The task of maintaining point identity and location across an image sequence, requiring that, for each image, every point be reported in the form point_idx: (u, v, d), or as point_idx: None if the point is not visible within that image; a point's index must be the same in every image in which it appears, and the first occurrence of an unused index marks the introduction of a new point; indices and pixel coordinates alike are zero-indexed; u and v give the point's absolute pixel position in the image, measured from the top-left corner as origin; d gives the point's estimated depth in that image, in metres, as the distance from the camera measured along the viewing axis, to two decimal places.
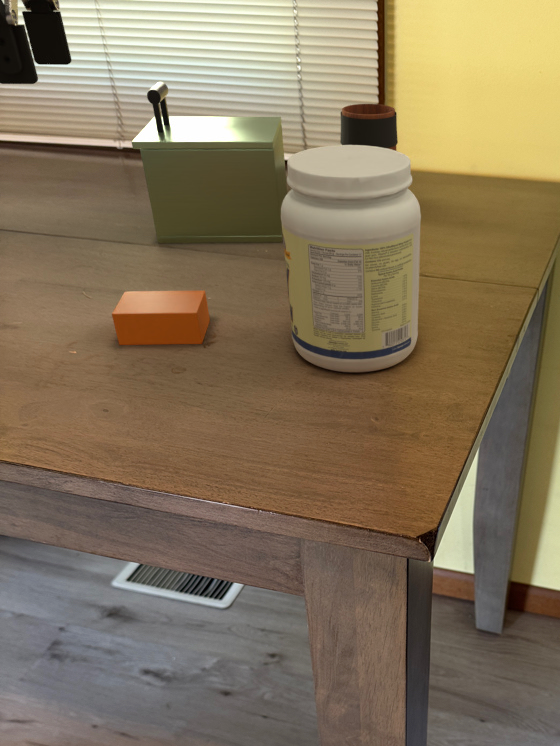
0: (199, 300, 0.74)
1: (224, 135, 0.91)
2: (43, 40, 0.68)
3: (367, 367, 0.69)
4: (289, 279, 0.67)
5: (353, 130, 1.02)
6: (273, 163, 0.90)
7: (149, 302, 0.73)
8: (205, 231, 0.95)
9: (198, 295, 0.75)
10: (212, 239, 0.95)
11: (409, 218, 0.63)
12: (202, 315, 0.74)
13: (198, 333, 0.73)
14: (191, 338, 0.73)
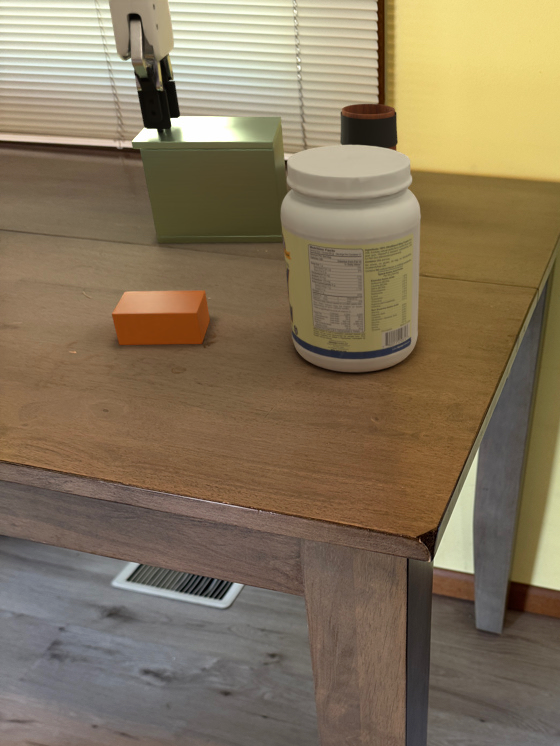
0: (199, 300, 0.74)
1: (224, 135, 0.91)
2: None
3: (367, 367, 0.69)
4: (289, 279, 0.67)
5: (353, 130, 1.02)
6: (273, 163, 0.90)
7: (149, 302, 0.73)
8: (205, 231, 0.95)
9: (198, 295, 0.75)
10: (212, 239, 0.95)
11: (409, 218, 0.63)
12: (202, 315, 0.74)
13: (198, 333, 0.73)
14: (191, 338, 0.73)
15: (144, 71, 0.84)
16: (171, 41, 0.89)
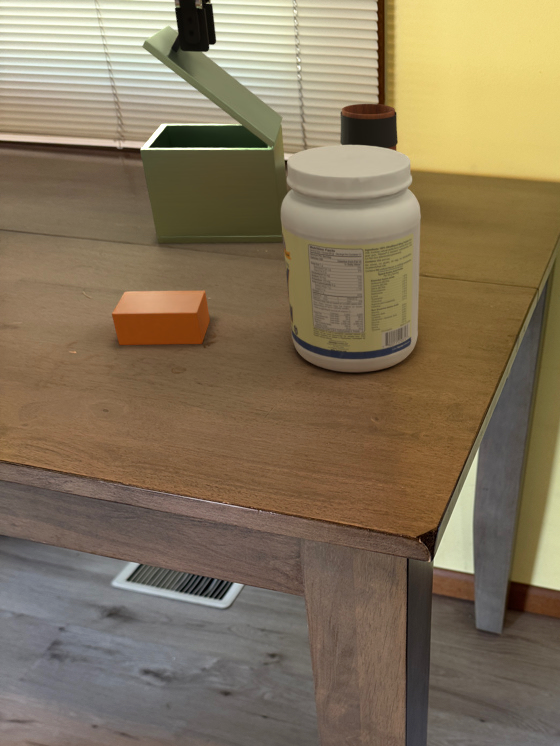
0: (199, 300, 0.74)
1: (233, 101, 0.88)
2: None
3: (367, 367, 0.69)
4: (289, 279, 0.67)
5: (353, 130, 1.02)
6: (273, 163, 0.90)
7: (149, 302, 0.73)
8: (205, 231, 0.95)
9: (198, 295, 0.75)
10: (212, 239, 0.95)
11: (409, 218, 0.63)
12: (202, 315, 0.74)
13: (198, 333, 0.73)
14: (191, 338, 0.73)
15: None
16: None
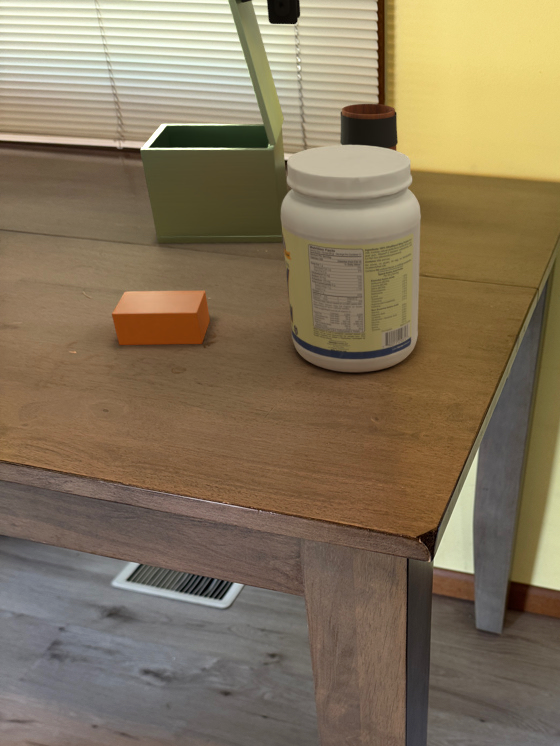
0: (199, 300, 0.74)
1: (262, 82, 0.87)
2: None
3: (367, 367, 0.69)
4: (289, 279, 0.67)
5: (353, 130, 1.02)
6: (273, 163, 0.90)
7: (149, 302, 0.73)
8: (205, 231, 0.95)
9: (198, 295, 0.75)
10: (212, 239, 0.95)
11: (409, 218, 0.63)
12: (202, 315, 0.74)
13: (198, 333, 0.73)
14: (191, 338, 0.73)
15: None
16: None
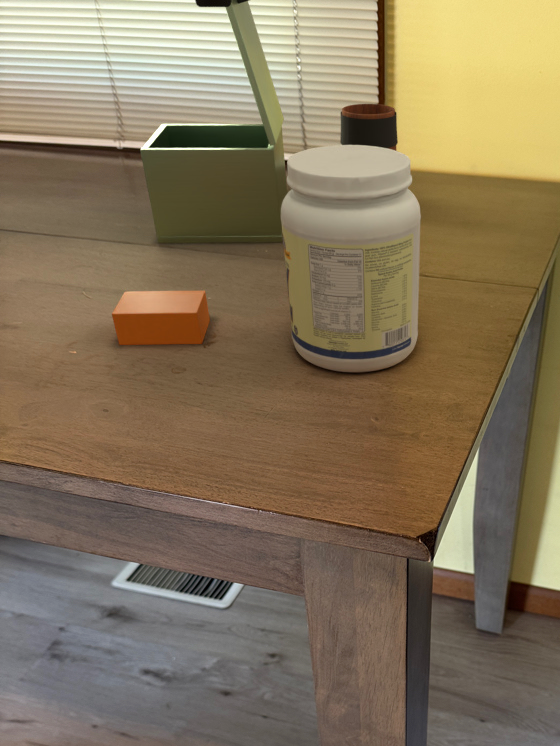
0: (199, 300, 0.74)
1: (260, 82, 0.87)
2: None
3: (367, 367, 0.69)
4: (289, 279, 0.67)
5: (353, 130, 1.02)
6: (273, 163, 0.90)
7: (149, 302, 0.73)
8: (205, 231, 0.95)
9: (198, 295, 0.75)
10: (212, 239, 0.95)
11: (409, 218, 0.63)
12: (202, 315, 0.74)
13: (198, 333, 0.73)
14: (191, 338, 0.73)
15: None
16: None
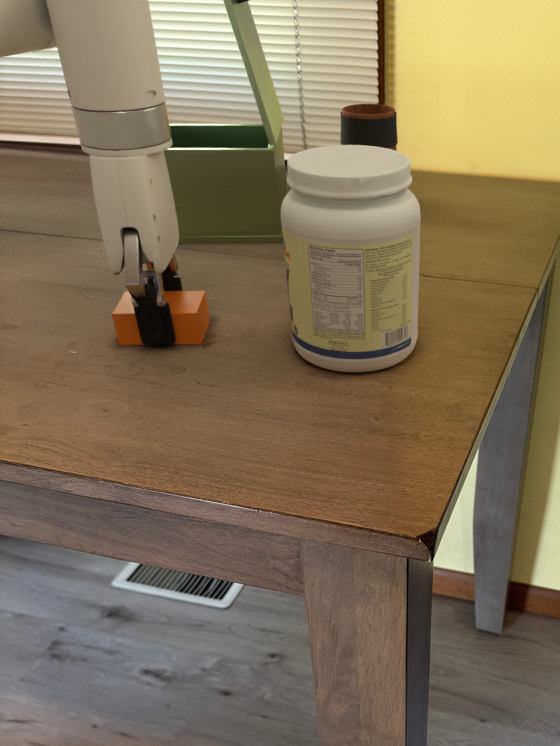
0: (199, 300, 0.74)
1: (260, 82, 0.87)
2: None
3: (367, 367, 0.69)
4: (289, 279, 0.67)
5: (353, 130, 1.02)
6: (273, 163, 0.90)
7: None
8: (205, 231, 0.95)
9: (199, 295, 0.75)
10: (212, 239, 0.95)
11: (409, 218, 0.63)
12: (202, 315, 0.74)
13: (198, 333, 0.73)
14: (191, 338, 0.73)
15: (141, 292, 0.66)
16: (176, 238, 0.72)
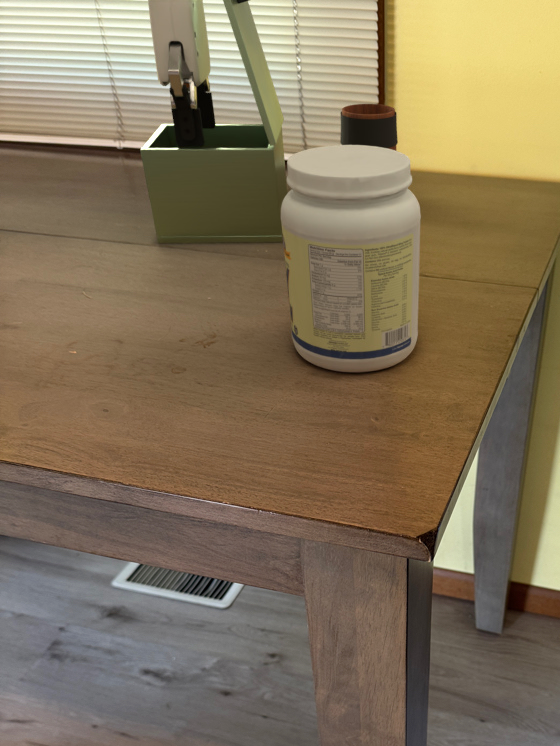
0: None
1: (260, 82, 0.87)
2: None
3: (367, 367, 0.69)
4: (289, 279, 0.67)
5: (353, 130, 1.02)
6: (273, 163, 0.90)
7: None
8: (205, 231, 0.95)
9: None
10: (212, 239, 0.95)
11: (409, 218, 0.63)
12: None
13: None
14: None
15: (179, 84, 0.83)
16: (208, 66, 0.91)
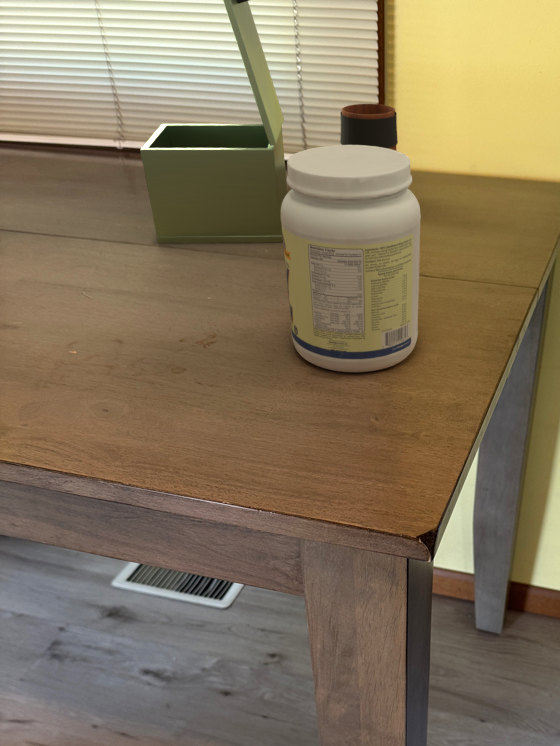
0: None
1: (260, 82, 0.87)
2: None
3: (367, 367, 0.69)
4: (289, 279, 0.67)
5: (353, 130, 1.02)
6: (273, 163, 0.90)
7: None
8: (205, 231, 0.95)
9: None
10: (212, 239, 0.95)
11: (409, 218, 0.63)
12: None
13: None
14: None
15: None
16: None
